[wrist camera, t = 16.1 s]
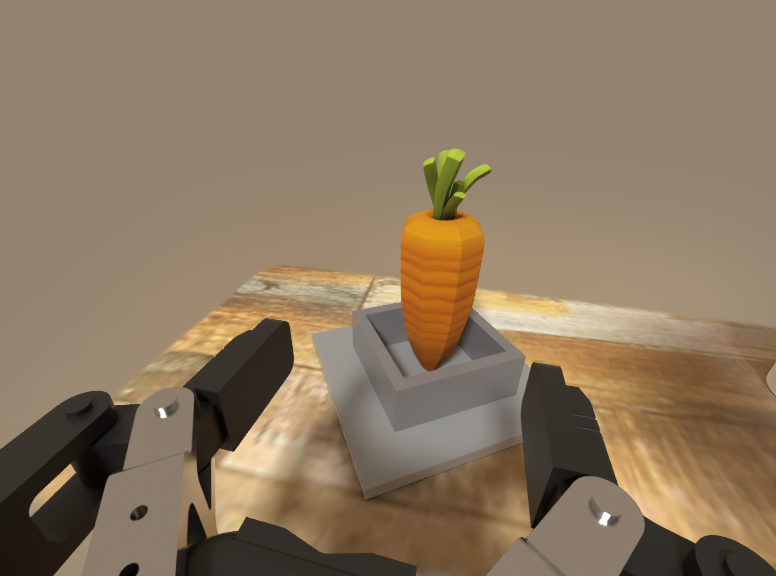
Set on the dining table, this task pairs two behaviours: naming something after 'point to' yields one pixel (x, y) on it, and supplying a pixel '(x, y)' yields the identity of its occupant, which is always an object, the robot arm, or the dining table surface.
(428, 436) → the sleeve stand
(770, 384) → the cylindrical container
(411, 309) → the carrot
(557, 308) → the dining table surface
